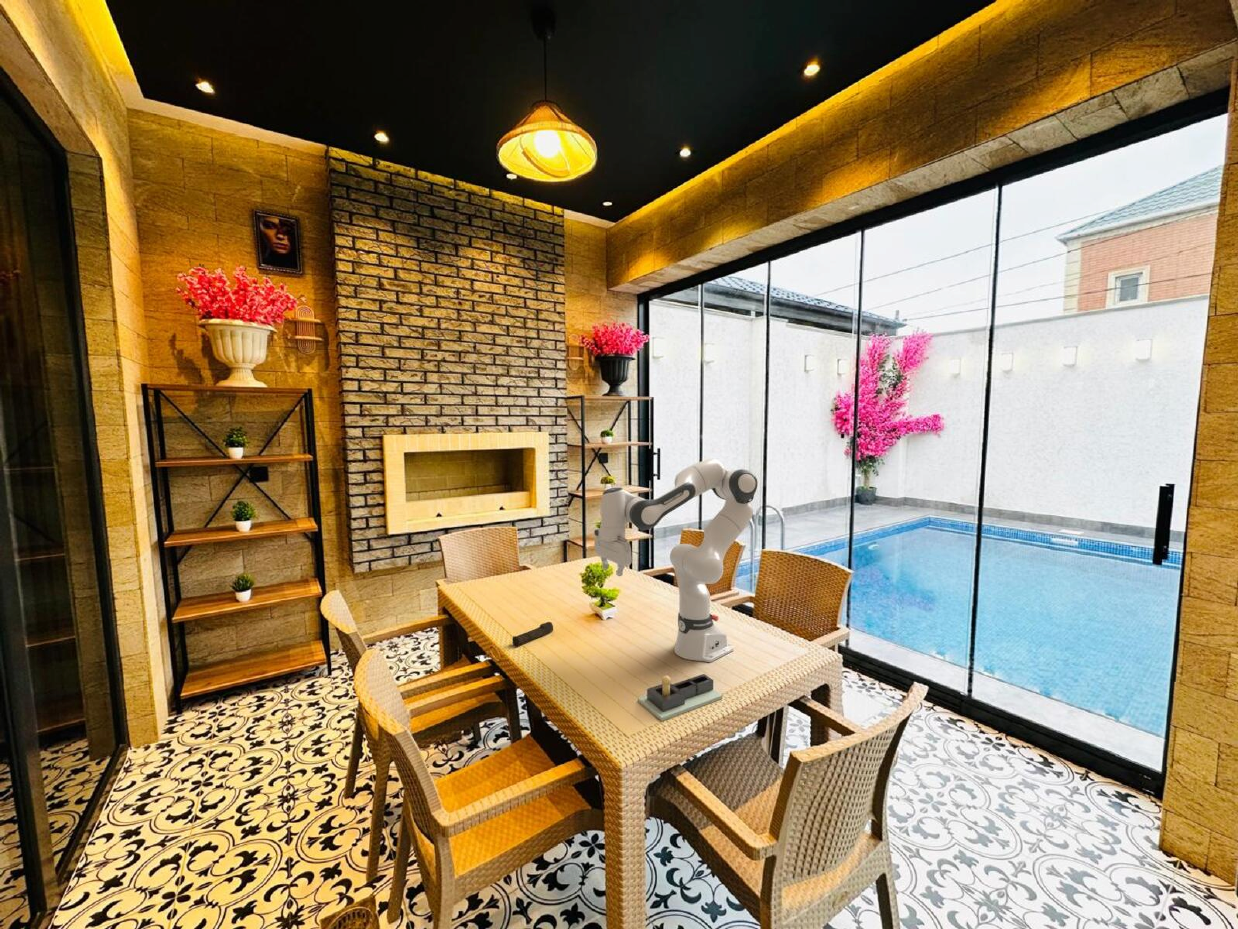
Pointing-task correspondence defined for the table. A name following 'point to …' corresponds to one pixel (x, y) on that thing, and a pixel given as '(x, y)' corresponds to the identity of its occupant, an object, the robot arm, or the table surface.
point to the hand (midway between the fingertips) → (612, 572)
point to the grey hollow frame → (679, 692)
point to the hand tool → (533, 634)
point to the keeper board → (689, 705)
